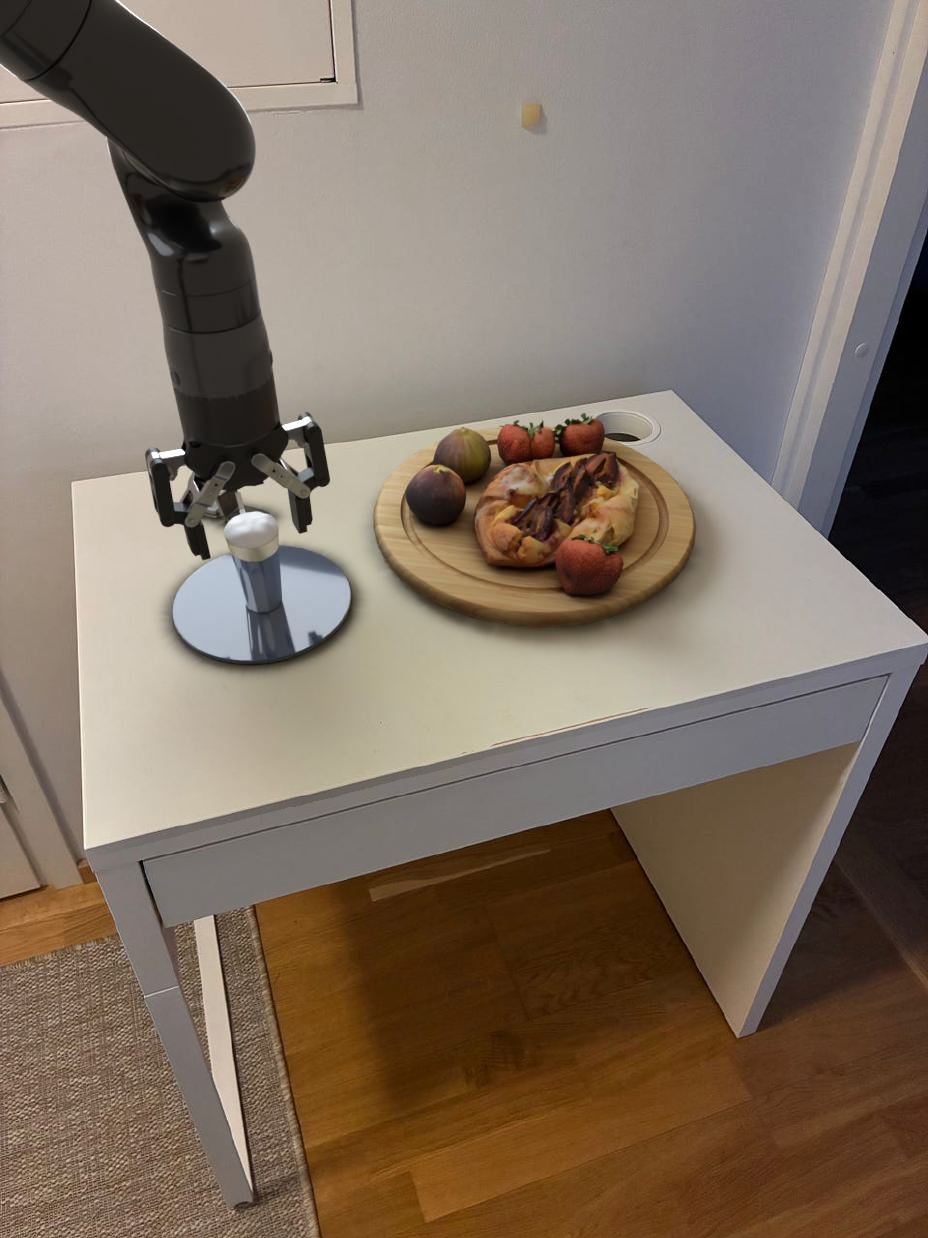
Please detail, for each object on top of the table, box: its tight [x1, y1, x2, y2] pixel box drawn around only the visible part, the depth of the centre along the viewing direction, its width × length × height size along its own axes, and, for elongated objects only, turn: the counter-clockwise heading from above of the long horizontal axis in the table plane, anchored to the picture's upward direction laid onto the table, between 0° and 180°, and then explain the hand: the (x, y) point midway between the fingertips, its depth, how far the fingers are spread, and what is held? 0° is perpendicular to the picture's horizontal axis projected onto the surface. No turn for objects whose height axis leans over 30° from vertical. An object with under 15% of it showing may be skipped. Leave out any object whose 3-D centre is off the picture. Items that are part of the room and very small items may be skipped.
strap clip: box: [203, 490, 271, 523], centre depth 96 cm, size 8×3×4 cm, turn 65°
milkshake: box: [223, 491, 282, 613], centre depth 84 cm, size 4×5×10 cm
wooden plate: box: [372, 412, 697, 627], centre depth 94 cm, size 32×32×8 cm
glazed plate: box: [171, 545, 352, 665], centre depth 87 cm, size 16×16×1 cm
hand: (252, 541), depth 83 cm, fingers open, 8 cm apart
